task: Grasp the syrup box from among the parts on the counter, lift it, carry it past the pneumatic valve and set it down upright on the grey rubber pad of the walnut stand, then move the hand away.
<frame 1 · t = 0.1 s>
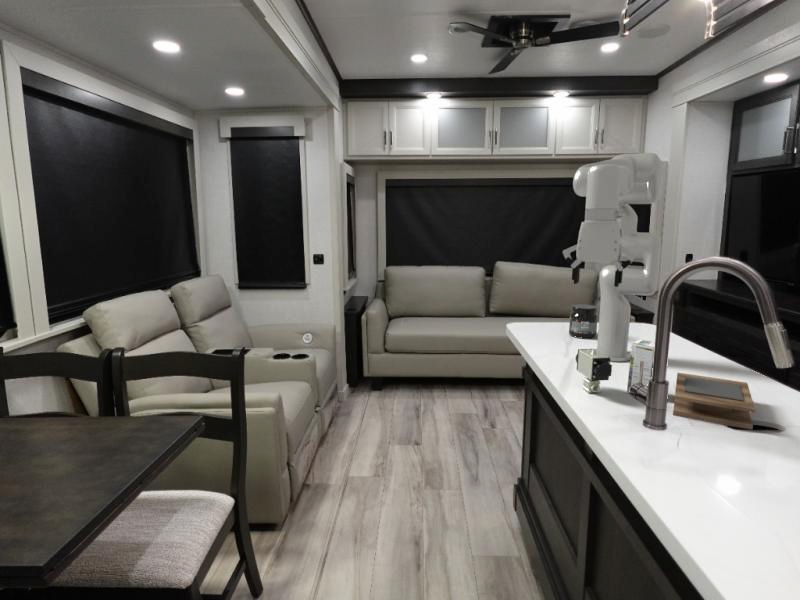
hand: (596, 284, 123), 31 cm above the worktop, tool pointing down, fingers open, 9 cm apart
syrup box: (641, 393, 134), on the worktop
supplement container: (582, 336, 194), on the worktop
walnut stand: (710, 407, 124), on the worktop
pneumatic valve: (592, 391, 135), on the worktop
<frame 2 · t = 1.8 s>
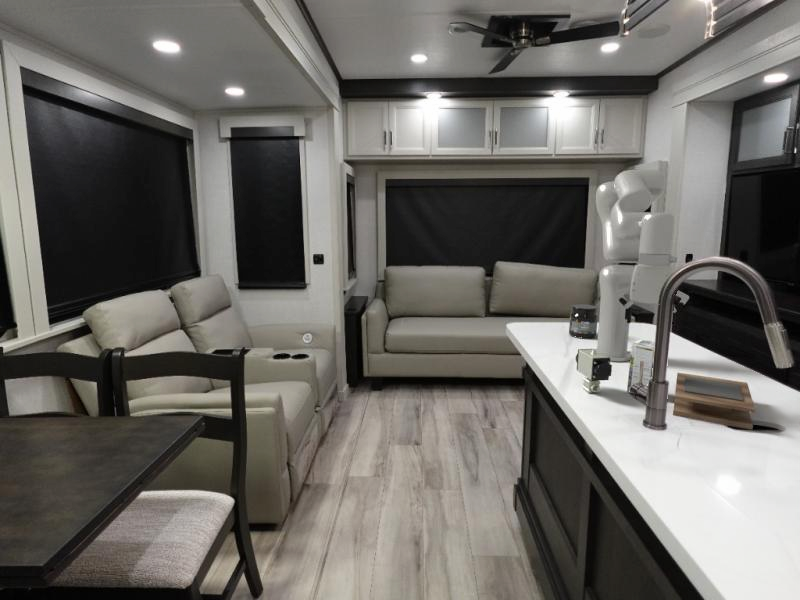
hand: (648, 324, 129), 20 cm above the worktop, tool pointing down, fingers open, 9 cm apart
nothing on the worktop moved.
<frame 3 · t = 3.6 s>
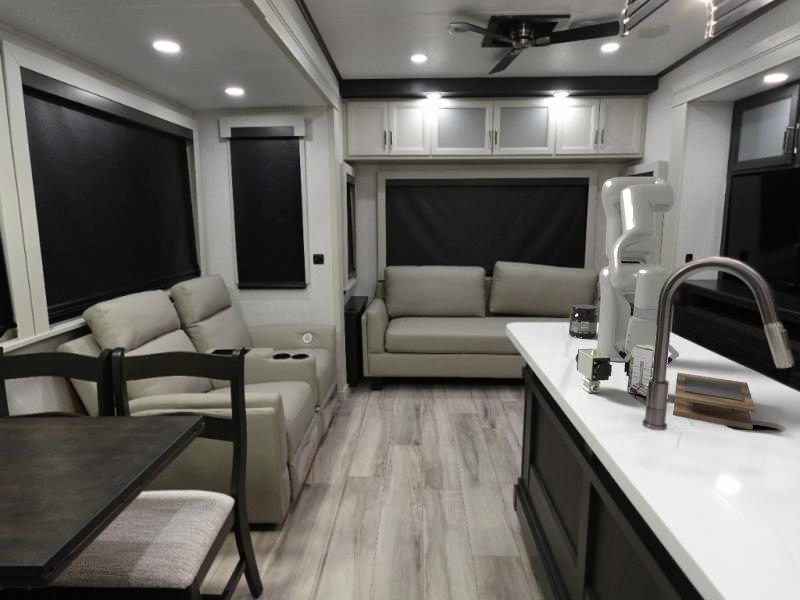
hand: (642, 376, 133), 5 cm above the worktop, tool pointing down, fingers closed on syrup box, 6 cm apart
syrup box: (641, 393, 133), on the worktop, touching gripper
everything else where it was.
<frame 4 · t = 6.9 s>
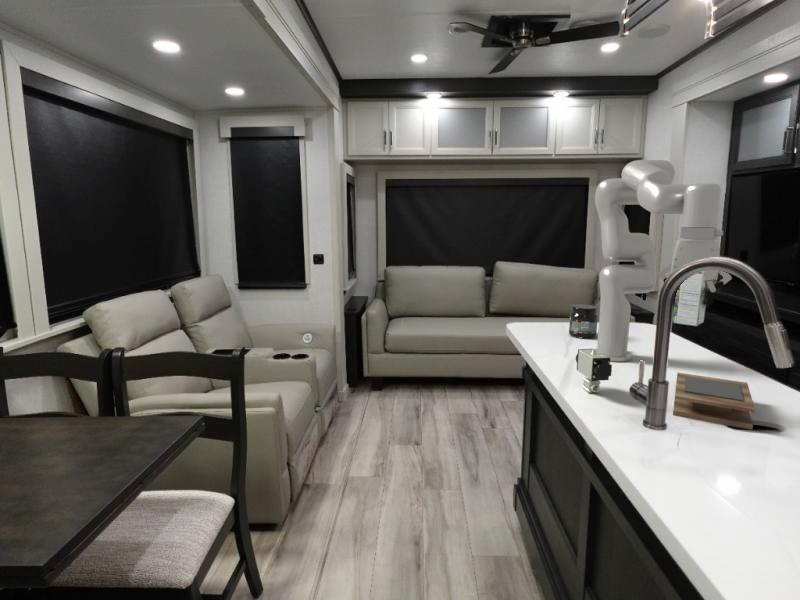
hand: (690, 305, 123), 26 cm above the worktop, tool pointing down, fingers closed on syrup box, 6 cm apart
syrup box: (688, 323, 124), point 21 cm above the worktop, touching gripper
everything else where it was.
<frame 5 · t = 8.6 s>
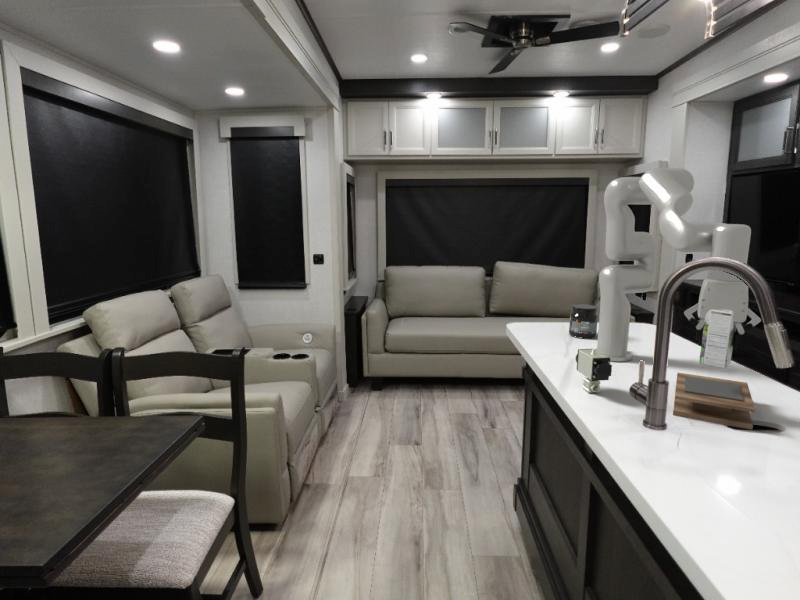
hand: (717, 345, 121), 16 cm above the worktop, tool pointing down, fingers closed on syrup box, 6 cm apart
syrup box: (715, 364, 122), point 11 cm above the worktop, touching gripper
everything else where it was.
when the fingers open (11 cm above the worktop, at t = 10.1 s): syrup box drops 1 cm, resting on walnut stand.
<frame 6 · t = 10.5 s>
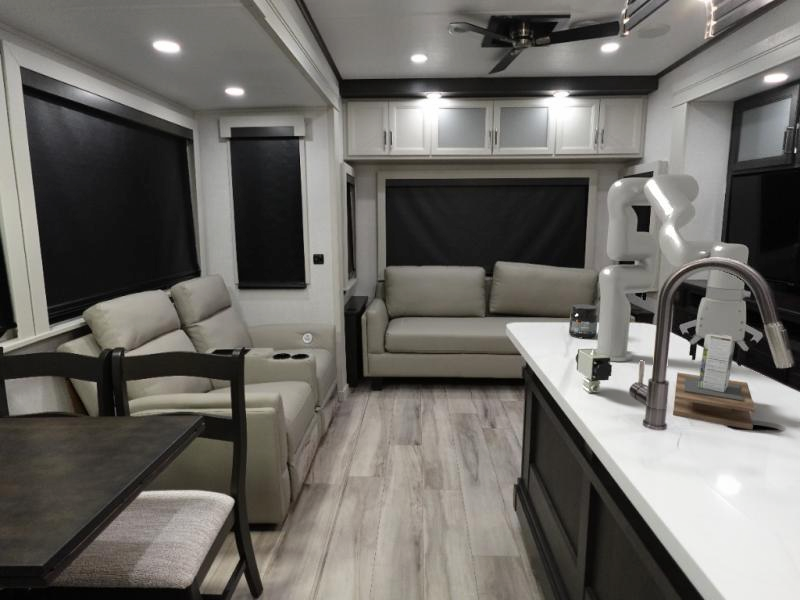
hand: (715, 361, 121), 12 cm above the worktop, tool pointing down, fingers open, 9 cm apart
syrup box: (713, 388, 123), point 5 cm above the worktop, touching walnut stand
everything else where it was.
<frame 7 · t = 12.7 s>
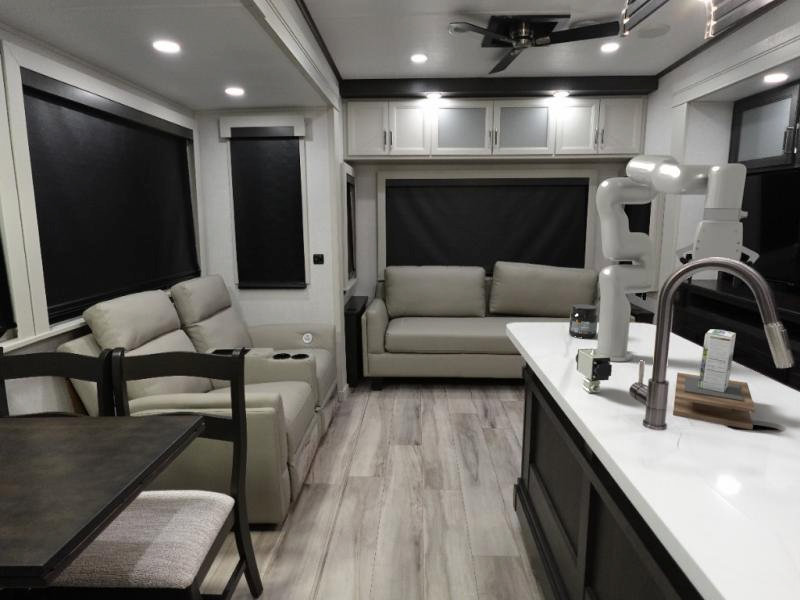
hand: (711, 285, 121), 31 cm above the worktop, tool pointing down, fingers open, 9 cm apart
nothing on the worktop moved.
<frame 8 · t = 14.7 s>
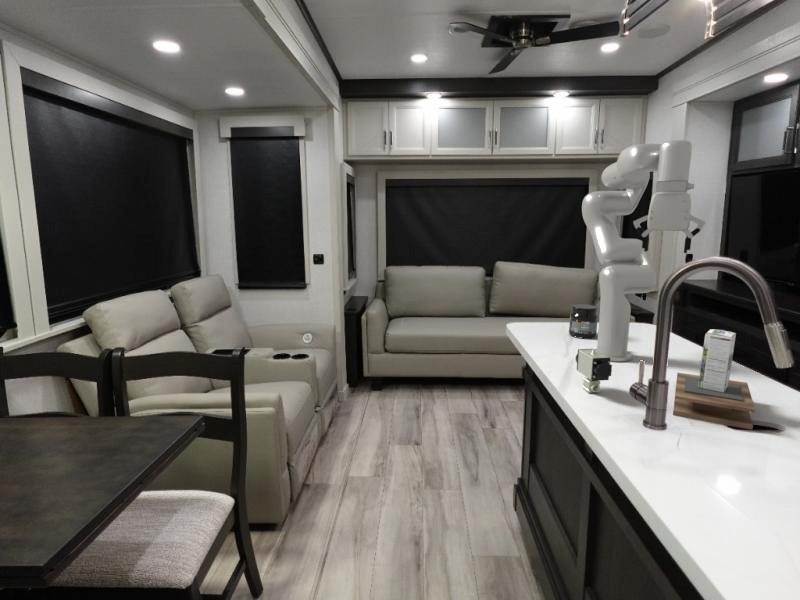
hand: (665, 251, 134), 38 cm above the worktop, tool pointing down, fingers open, 9 cm apart
nothing on the worktop moved.
at the end: syrup box inside the target area on the walnut stand (0.2 cm from its centre), point 5.2 cm above the walnut stand's base; syrup box tilted 0°; the gripper is holding nothing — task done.
